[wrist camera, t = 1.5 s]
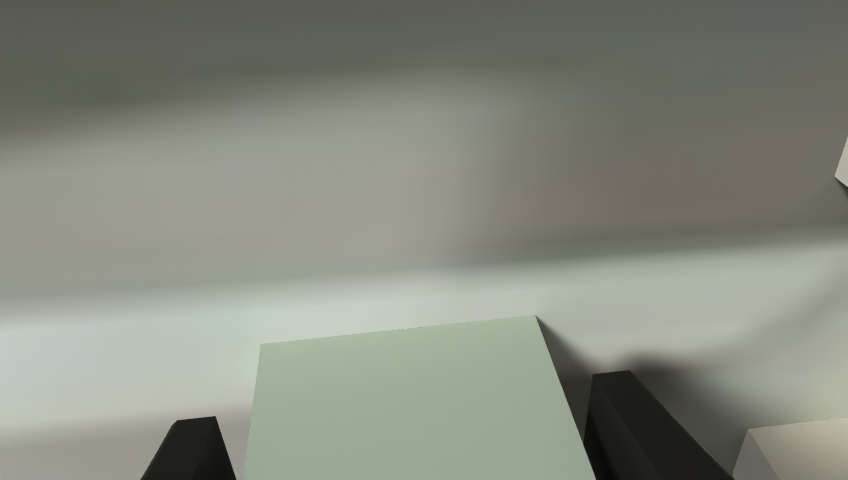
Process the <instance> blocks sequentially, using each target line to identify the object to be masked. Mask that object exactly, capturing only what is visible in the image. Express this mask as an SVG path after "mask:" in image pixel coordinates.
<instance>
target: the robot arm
mask: <svg viewBox="0 0 848 480" xmlns="http://www.w3.org/2000/svg"><path fill="white" fill-rule="evenodd" d="M583 446H584V448H585V451H586V454H587V456H588V459H589V462H590V465H591V467H592V470H593V473H594V475H595V478H596V480H734V479H733V478H732V477H731V476H730V475H729V474H728V473H727V472H726V471H725V470H724V469H723V468H722V467H721V466H720V465H719V464H718V463H717V462H716V461H715V460H714V459H713V458H712V457H711V456H710V455H709V454H708V453H707V452H706V451H705V450H704V449H703V448H702V447H701V446H700V445H699V444H698V443H697V442H696V441H695V440H694V439H693V438H692V437H691V436H690V435H689V434H688V433H687V432H686V430H685V429H684V428H683V427H682V426H681V425H680V424H679V423H678V422H677V421H676V420H675V419H674V418H673V417H672V416H671V415H670V413H669V412H668V411H667V410H666V409H665V408H664V407H663V406H662V405H661V404H660V403H659V401H658V400H657V399H656V398H655V397H654V396H653V395H652V394H651V393H650V392H649V390H648V389H647V388H646V387H645V386H644V385H643V384H642V383H641V382H640V380H639V379H638V378H637V377H636V376H635V375H634V374H633V373H632V372H630V371H629V370H627V371H618V372H609V373H600V374H593V378H592V385H591V393H590V400H589V407H588V415H587V422H586V429H585V437H584V444H583ZM141 480H236V477H235V474H234V471H233V468H232V465H231V462H230V459H229V456H228V453H227V450H226V447H225V444H224V441H223V438H222V435H221V432H220V429H219V425H218V422H217V419H216V416H213V417H204V418H195V419H186V420H177V421H176V422H175V423H174V424H173V425H172V426H171V428H170V430H169V432H168V433H167V435H166V437H165V439H164V440H163V442H162V444H161V446H160V447H159V449H158V451H157V453H156V454H155V456H154V458H153V460H152V461H151V463H150V465H149V466H148V468H147V470H146V472H145V473H144V475H143V477H142V478H141Z"/></svg>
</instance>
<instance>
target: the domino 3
mask: <svg viewBox="0 0 848 480" xmlns="http://www.w3.org/2000/svg"><path fill="white" fill-rule="evenodd" d="M834 177H836V178H837V179H838V180H839V181H841V182H842V183H843V184H844V185H846V186H847V187H848V138H847V141H846V144H845V147H844V150H843V153H842V156H841V159H840V161H839V164H838V167H837V170H836V173H835V176H834Z"/></svg>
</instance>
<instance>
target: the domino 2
mask: <svg viewBox="0 0 848 480" xmlns="http://www.w3.org/2000/svg"><path fill="white" fill-rule="evenodd" d="M732 475H733V476H734V478H735V480H848V417H844V418H835V419H827V420H818V421H810V422H801V423H793V424H784V425H776V426H767V427H759V428H750V429H747V432H746V435H745V438H744V441H743V444H742V447H741V450H740V452H739V455H738V458H737V461H736V464H735V467H734V470H733V473H732Z"/></svg>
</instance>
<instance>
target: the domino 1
mask: <svg viewBox="0 0 848 480" xmlns="http://www.w3.org/2000/svg"><path fill="white" fill-rule="evenodd" d="M243 480H596V478H595V475H594V473H593V470H592V467H591V465H590V462H589V459H588V456H587V454H586V451H585V448H584V446H583V443H582V440H581V438H580V435H579V432H578V429H577V427H576V424H575V421H574V419H573V416H572V413H571V411H570V408H569V405H568V403H567V400H566V397H565V394H564V392H563V389H562V386H561V384H560V381H559V378H558V376H557V373H556V370H555V367H554V365H553V362H552V359H551V357H550V354H549V351H548V349H547V346H546V343H545V341H544V338H543V335H542V332H541V330H540V327H539V324H538V322H537V319H536V316H535V315H532V316H523V317H513V318H504V319H494V320H485V321H475V322H466V323H456V324H447V325H437V326H428V327H418V328H409V329H399V330H390V331H380V332H371V333H361V334H352V335H342V336H333V337H324V338H314V339H305V340H295V341H286V342H276V343H267V344H261V349H260V356H259V364H258V371H257V378H256V385H255V393H254V400H253V407H252V415H251V422H250V429H249V437H248V444H247V451H246V459H245V466H244V473H243Z"/></svg>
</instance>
